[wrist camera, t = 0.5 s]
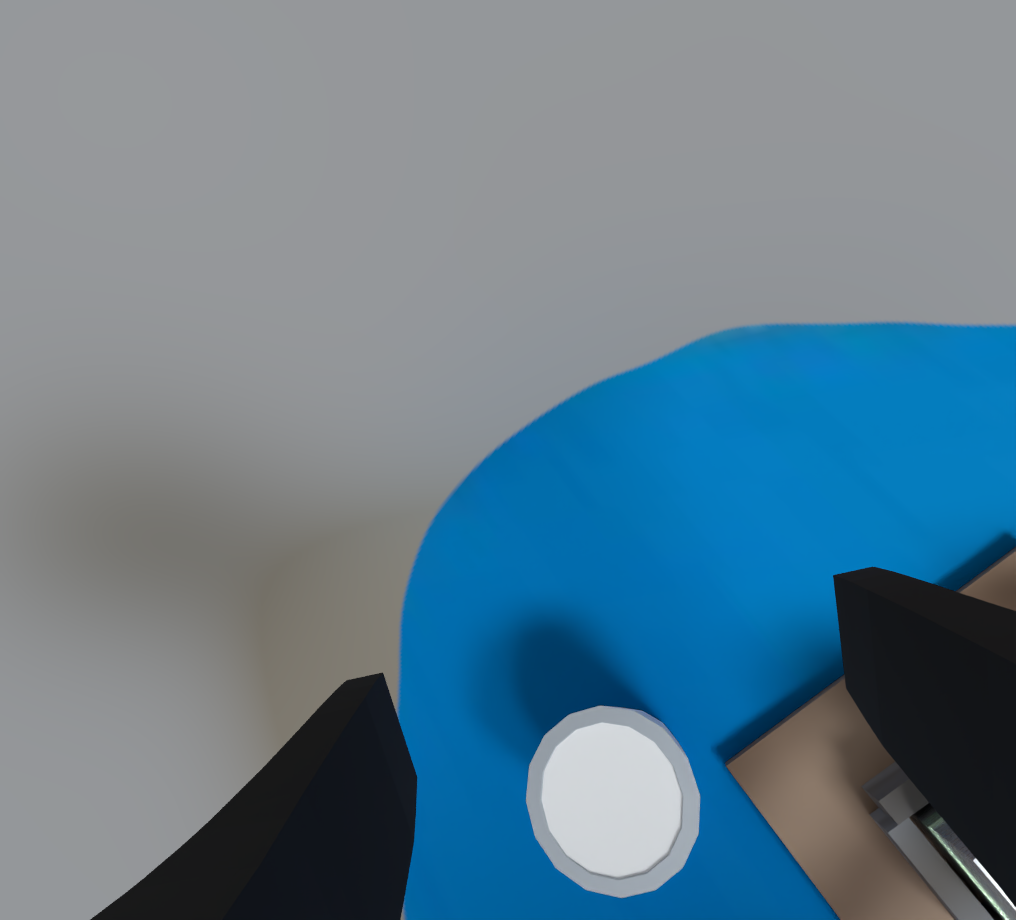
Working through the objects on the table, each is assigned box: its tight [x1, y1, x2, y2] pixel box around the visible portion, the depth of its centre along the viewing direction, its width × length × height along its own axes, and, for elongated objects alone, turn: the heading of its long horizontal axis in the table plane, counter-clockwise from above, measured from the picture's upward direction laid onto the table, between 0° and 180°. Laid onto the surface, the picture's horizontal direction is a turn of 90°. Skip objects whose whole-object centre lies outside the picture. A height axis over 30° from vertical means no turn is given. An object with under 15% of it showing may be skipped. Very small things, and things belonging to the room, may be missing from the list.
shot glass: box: [526, 706, 700, 898], centre depth 29 cm, size 7×7×7 cm
